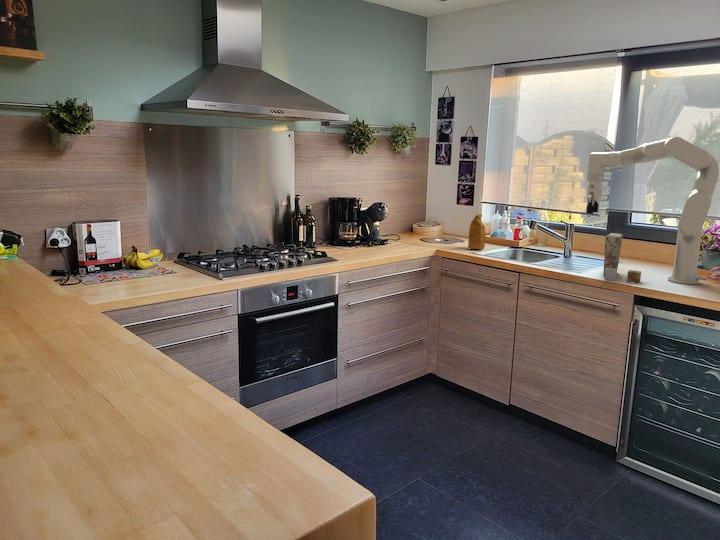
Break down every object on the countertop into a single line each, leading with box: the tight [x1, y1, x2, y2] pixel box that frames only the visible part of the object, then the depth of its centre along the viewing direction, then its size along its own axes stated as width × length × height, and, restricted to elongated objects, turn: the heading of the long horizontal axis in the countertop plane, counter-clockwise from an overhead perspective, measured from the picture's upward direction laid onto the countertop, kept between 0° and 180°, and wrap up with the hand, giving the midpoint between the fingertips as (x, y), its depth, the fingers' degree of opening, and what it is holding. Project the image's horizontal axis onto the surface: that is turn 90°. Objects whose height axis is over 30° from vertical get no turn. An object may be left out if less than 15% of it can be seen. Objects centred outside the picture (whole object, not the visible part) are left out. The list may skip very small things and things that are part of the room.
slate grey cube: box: [603, 268, 618, 281], centre depth 260 cm, size 5×5×5 cm
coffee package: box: [467, 213, 487, 251], centre depth 343 cm, size 10×12×22 cm
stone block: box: [603, 232, 624, 276], centre depth 269 cm, size 13×7×20 cm, turn 153°
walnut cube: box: [626, 269, 642, 284], centre depth 254 cm, size 5×5×5 cm
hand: (592, 212), depth 273 cm, fingers open, 9 cm apart
